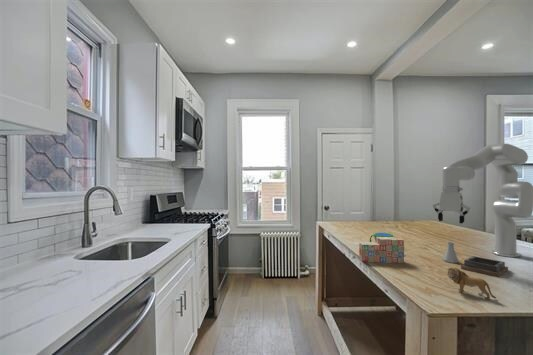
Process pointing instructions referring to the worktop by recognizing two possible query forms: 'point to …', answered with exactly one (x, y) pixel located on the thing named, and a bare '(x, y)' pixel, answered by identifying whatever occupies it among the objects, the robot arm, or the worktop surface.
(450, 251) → the flask
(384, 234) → the snack cup
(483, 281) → the lion figurine
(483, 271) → the board
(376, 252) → the stack of blocks
